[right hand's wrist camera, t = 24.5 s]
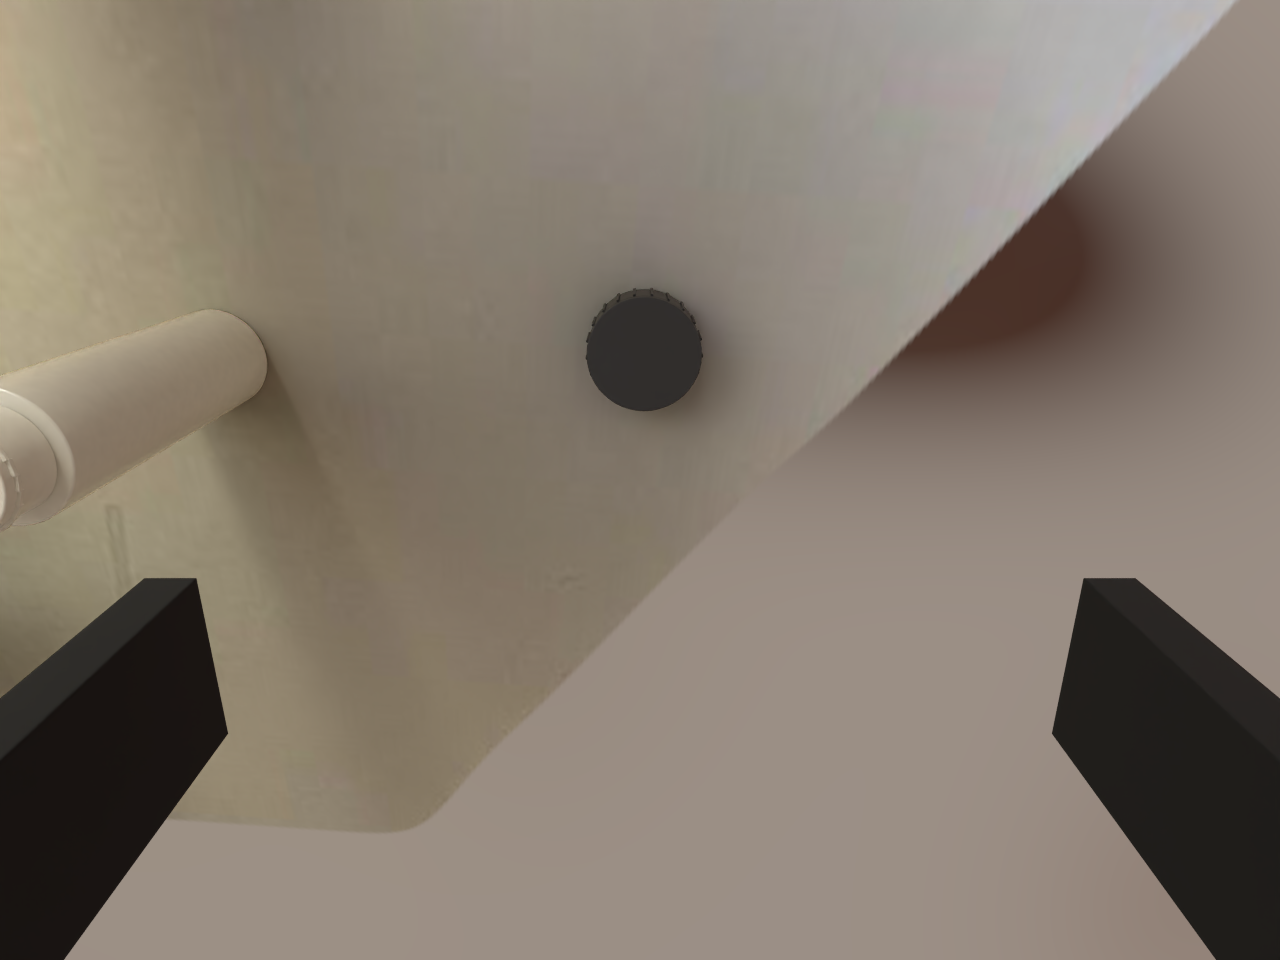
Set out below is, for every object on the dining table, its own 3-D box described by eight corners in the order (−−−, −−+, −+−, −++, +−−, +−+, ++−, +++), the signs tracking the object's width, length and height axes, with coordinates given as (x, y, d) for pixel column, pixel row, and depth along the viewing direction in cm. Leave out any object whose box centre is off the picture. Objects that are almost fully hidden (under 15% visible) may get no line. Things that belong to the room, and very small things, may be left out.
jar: (287, 379, 38) (57, 518, 23) (208, 421, 39) (-65, 582, 24) (229, 291, 37) (-56, 378, 22) (148, 336, 37) (-182, 450, 22)
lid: (594, 279, 36) (591, 287, 34) (708, 295, 37) (712, 303, 34) (582, 390, 38) (578, 404, 36) (690, 404, 38) (693, 419, 36)
